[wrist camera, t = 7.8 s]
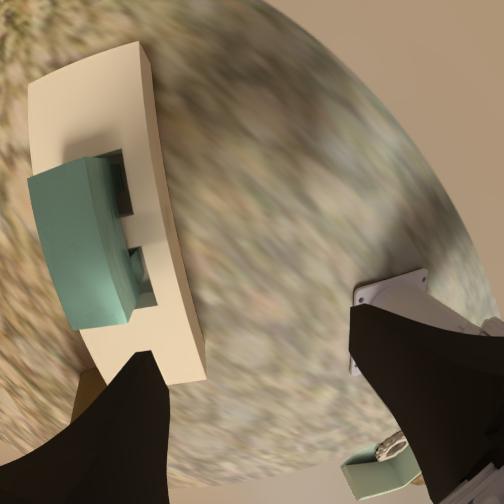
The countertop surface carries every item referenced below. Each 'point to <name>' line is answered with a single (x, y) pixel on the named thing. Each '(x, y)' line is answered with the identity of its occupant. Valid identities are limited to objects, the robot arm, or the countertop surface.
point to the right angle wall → (381, 468)
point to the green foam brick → (86, 241)
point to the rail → (124, 200)
